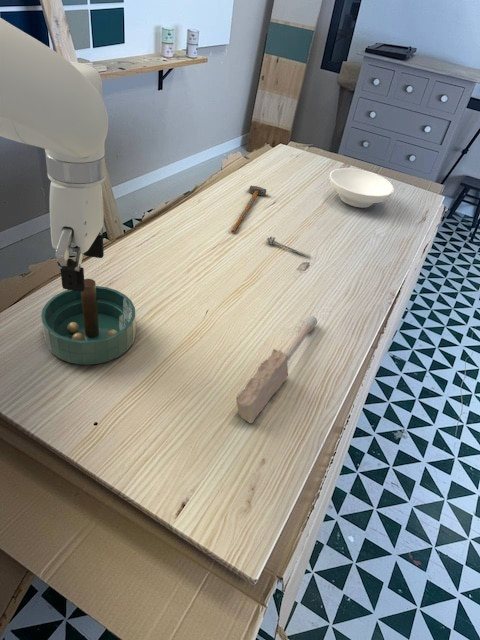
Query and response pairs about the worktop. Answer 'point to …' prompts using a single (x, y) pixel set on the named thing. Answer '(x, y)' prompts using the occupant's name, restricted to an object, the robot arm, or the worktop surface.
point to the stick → (90, 309)
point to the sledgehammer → (250, 202)
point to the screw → (271, 240)
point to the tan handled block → (269, 377)
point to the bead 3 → (111, 332)
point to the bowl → (360, 187)
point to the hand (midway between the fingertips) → (84, 271)
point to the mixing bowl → (68, 308)
